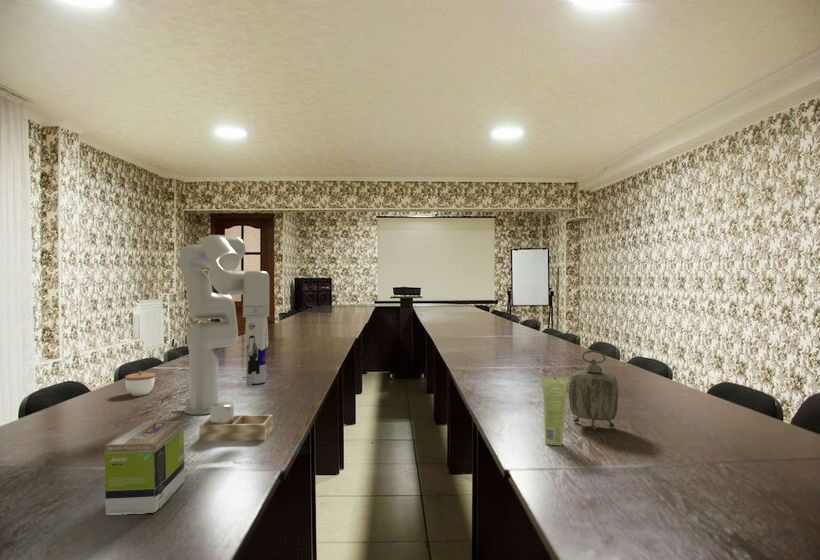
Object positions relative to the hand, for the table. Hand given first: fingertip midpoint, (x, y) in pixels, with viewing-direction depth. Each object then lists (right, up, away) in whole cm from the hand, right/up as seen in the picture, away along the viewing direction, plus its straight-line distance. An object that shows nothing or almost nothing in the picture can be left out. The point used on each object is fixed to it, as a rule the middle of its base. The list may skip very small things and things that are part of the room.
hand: (256, 371), depth 139 cm
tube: (+89, -20, -5) cm, 91 cm away
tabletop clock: (+106, -20, +9) cm, 108 cm away
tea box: (-10, -20, -39) cm, 45 cm away
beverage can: (0, -5, 0) cm, 5 cm away
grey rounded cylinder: (-9, -19, -2) cm, 21 cm away
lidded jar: (-65, -20, +51) cm, 85 cm away
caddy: (-5, -20, -2) cm, 20 cm away
